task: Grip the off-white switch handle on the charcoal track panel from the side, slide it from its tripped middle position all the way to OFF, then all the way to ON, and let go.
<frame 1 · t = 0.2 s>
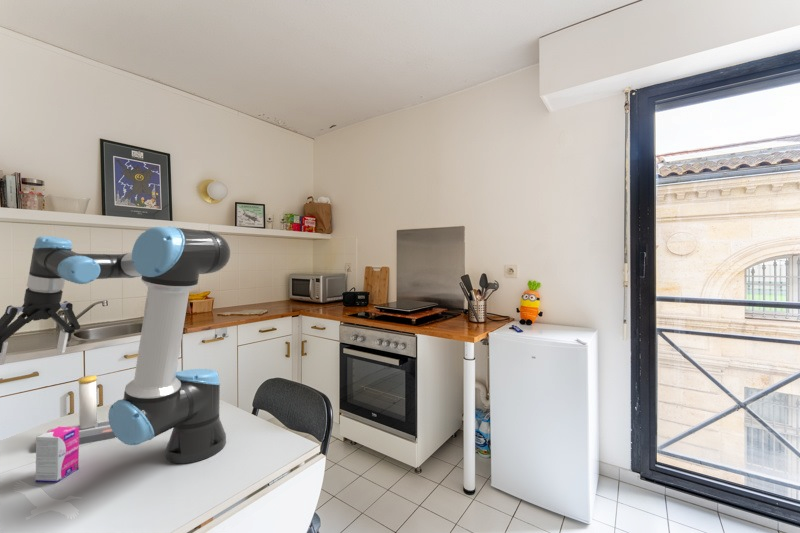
hand: (31, 356, 101), 27 cm above the table, tool tilted 15°, fingers open, 13 cm apart
supplement box: (58, 476, 87), on the table
switch panel: (88, 436, 107), on the table
switch handle: (87, 403, 107), point 10 cm above the table, slide at 5.0 cm
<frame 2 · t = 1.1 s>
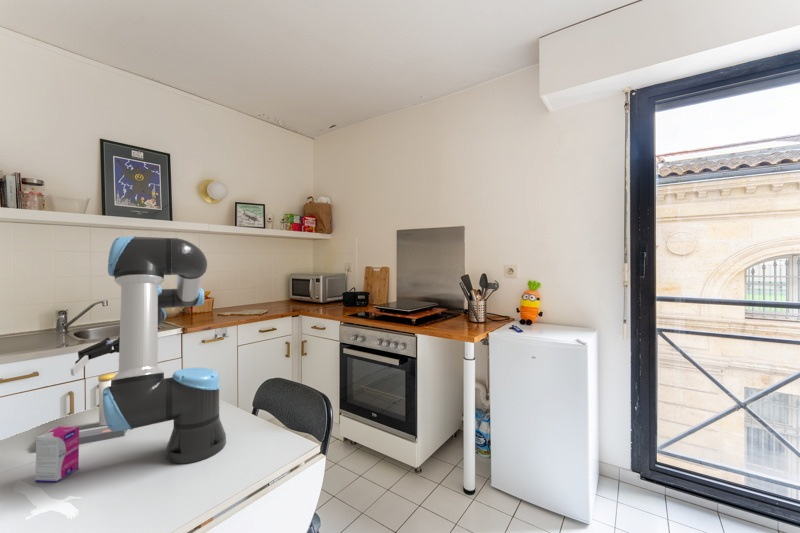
hand: (96, 374, 108), 19 cm above the table, tool tilted 65°, fingers open, 13 cm apart
switch handle: (107, 400, 109), point 10 cm above the table, slide at 0.3 cm
everything else where it was.
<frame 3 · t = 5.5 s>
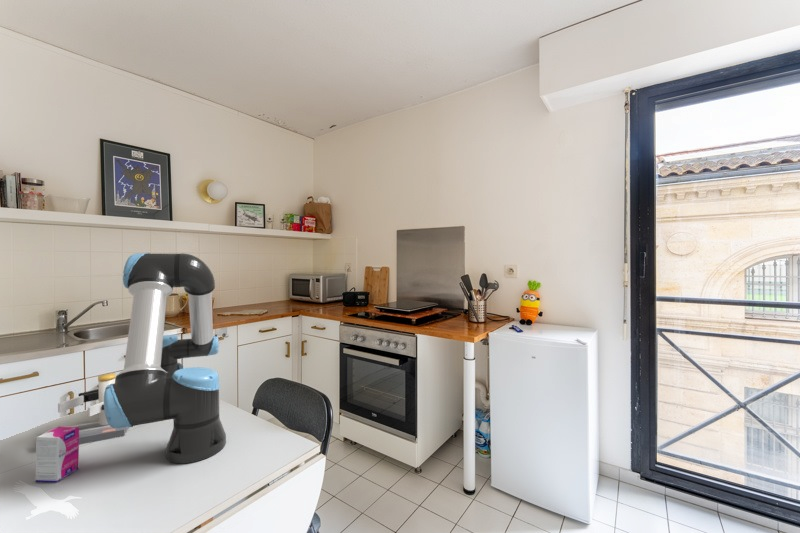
hand: (73, 410, 103), 10 cm above the table, tool horizontal, fingers open, 11 cm apart
switch handle: (107, 400, 109), point 10 cm above the table, slide at 0.3 cm, touching gripper
everything else where it was.
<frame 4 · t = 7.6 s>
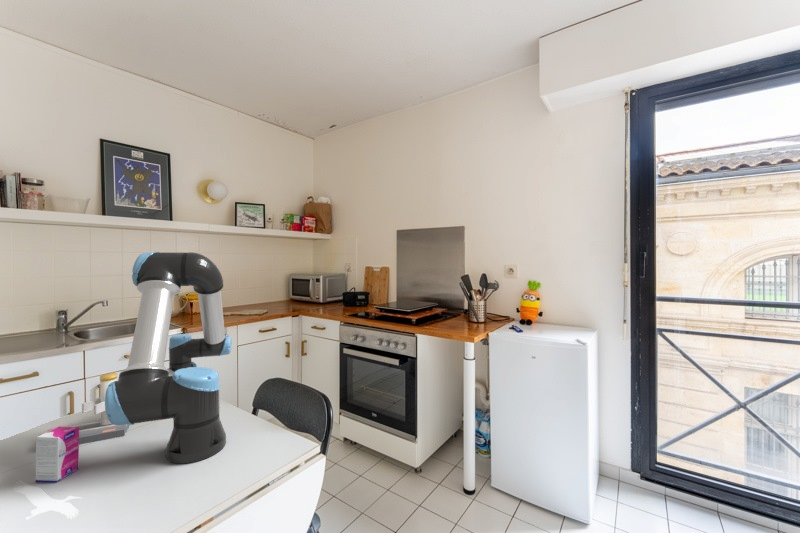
hand: (89, 408, 103), 10 cm above the table, tool horizontal, fingers closed on switch handle, 4 cm apart
switch handle: (108, 400, 109), point 10 cm above the table, slide at -0.1 cm, touching gripper
everything else where it was.
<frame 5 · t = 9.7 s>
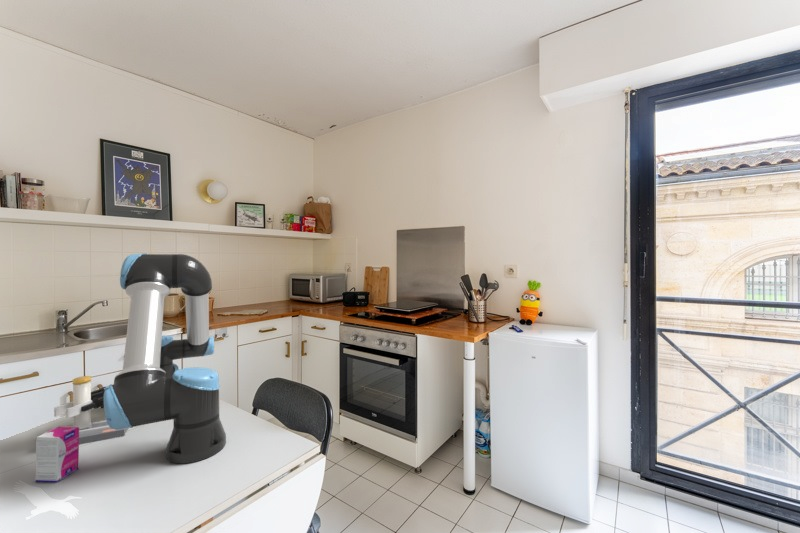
hand: (61, 412, 101), 10 cm above the table, tool horizontal, fingers closed on switch handle, 4 cm apart
switch handle: (82, 404, 106), point 10 cm above the table, slide at 6.4 cm, touching gripper
everything else where it was.
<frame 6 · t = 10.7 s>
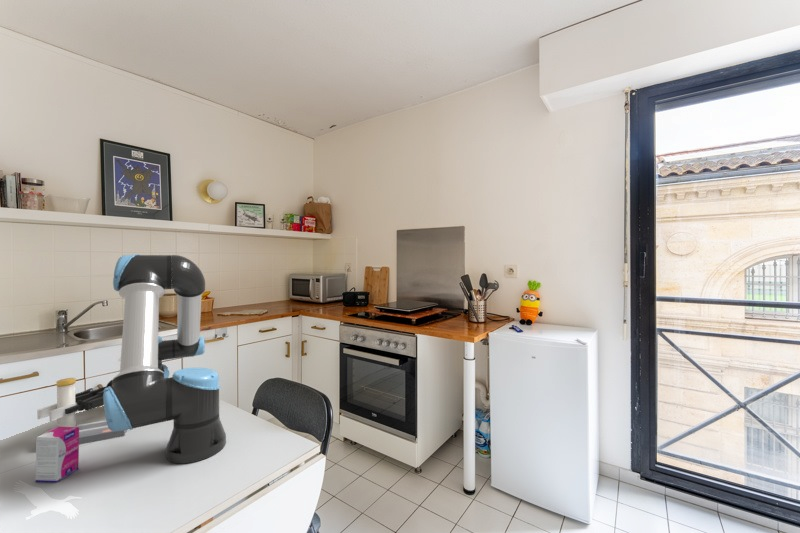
hand: (44, 415, 99), 10 cm above the table, tool horizontal, fingers closed on switch handle, 4 cm apart
switch handle: (66, 406, 104), point 10 cm above the table, slide at 10.1 cm, touching gripper
everything else where it was.
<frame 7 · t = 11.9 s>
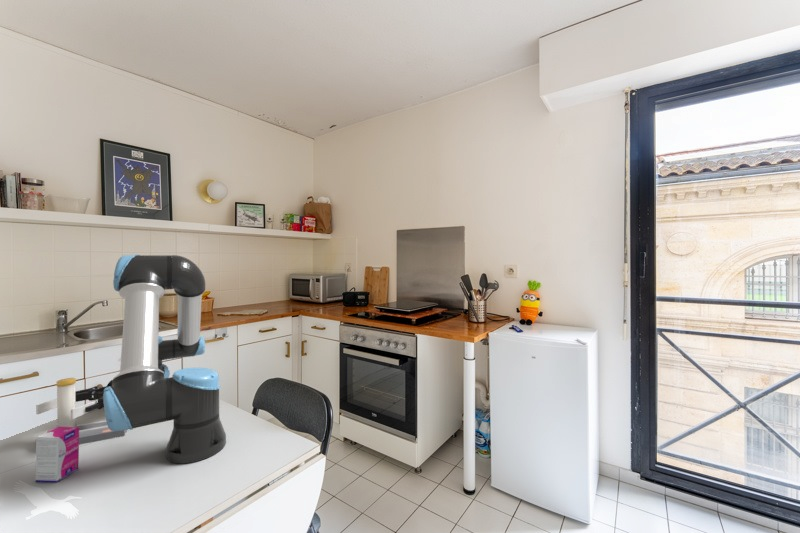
hand: (53, 412, 101), 10 cm above the table, tool horizontal, fingers open, 13 cm apart
switch handle: (66, 406, 104), point 10 cm above the table, slide at 10.0 cm
everything else where it was.
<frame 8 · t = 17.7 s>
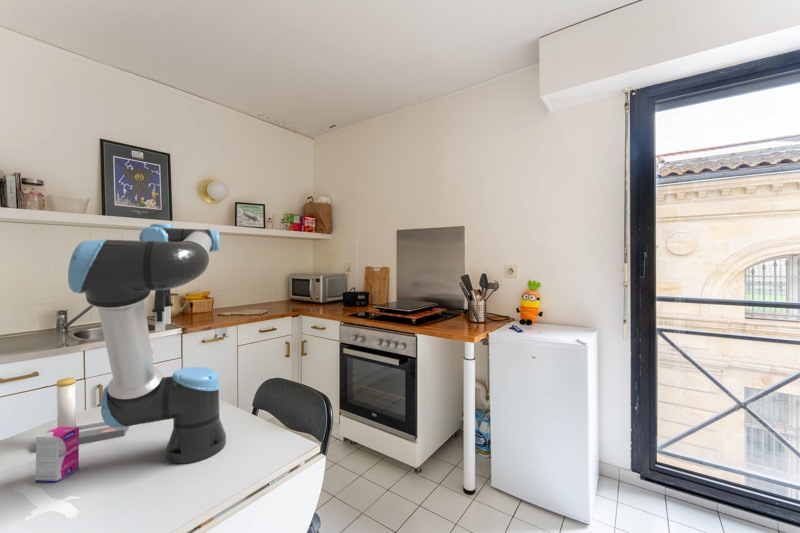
hand: (163, 327, 120), 32 cm above the table, tool pointing down, fingers open, 13 cm apart
nothing on the table moved.
at the end: switch handle slide at 10.0 cm; the gripper is holding nothing; supplement box moved 0.2 cm from its start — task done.
